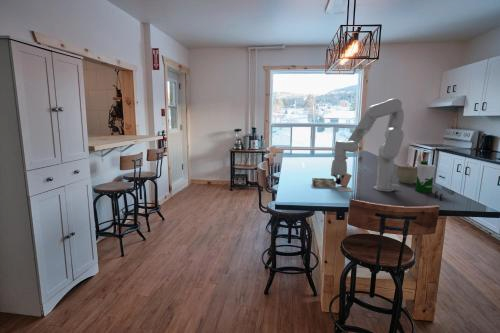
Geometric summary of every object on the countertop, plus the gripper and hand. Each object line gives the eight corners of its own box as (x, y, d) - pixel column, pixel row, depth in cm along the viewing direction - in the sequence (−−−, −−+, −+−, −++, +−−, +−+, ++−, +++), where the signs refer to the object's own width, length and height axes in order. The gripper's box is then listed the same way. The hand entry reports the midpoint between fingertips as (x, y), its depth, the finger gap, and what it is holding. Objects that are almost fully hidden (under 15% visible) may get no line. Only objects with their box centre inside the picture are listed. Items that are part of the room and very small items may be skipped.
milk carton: (423, 189, 200) (426, 160, 196) (434, 192, 192) (438, 162, 188) (412, 190, 198) (416, 161, 194) (423, 193, 189) (427, 163, 186)
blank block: (345, 185, 207) (350, 174, 205) (346, 187, 203) (351, 175, 201) (339, 183, 207) (344, 172, 206) (340, 185, 203) (345, 173, 201)
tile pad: (349, 188, 201) (349, 187, 200) (353, 191, 192) (353, 190, 192) (336, 187, 201) (336, 186, 201) (339, 191, 193) (339, 190, 193)
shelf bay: (333, 184, 210) (333, 178, 209) (335, 187, 202) (336, 181, 201) (312, 183, 211) (312, 177, 211) (313, 186, 203) (313, 180, 202)
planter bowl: (418, 186, 209) (419, 171, 207) (393, 182, 218) (394, 168, 216) (419, 181, 222) (421, 167, 220) (396, 179, 231) (397, 165, 229)
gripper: (349, 158, 205) (347, 183, 208) (327, 157, 206) (326, 182, 210) (352, 159, 198) (350, 186, 201) (329, 159, 199) (328, 185, 202)
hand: (338, 184), depth 205 cm, fingers closed
